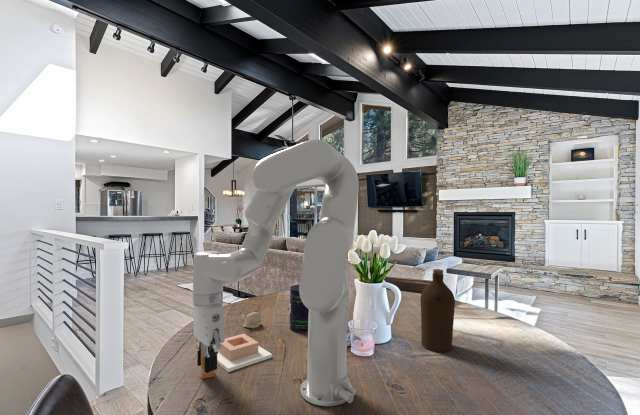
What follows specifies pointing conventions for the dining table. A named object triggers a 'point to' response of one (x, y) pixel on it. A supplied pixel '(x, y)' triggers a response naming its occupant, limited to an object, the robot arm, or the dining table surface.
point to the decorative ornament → (252, 320)
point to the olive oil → (437, 314)
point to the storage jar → (298, 312)
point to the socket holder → (240, 352)
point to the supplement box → (203, 355)
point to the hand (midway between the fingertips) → (207, 366)
